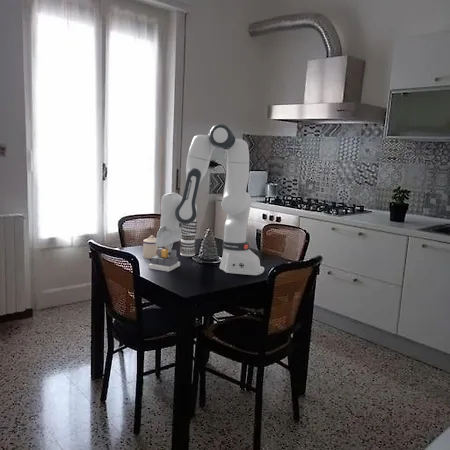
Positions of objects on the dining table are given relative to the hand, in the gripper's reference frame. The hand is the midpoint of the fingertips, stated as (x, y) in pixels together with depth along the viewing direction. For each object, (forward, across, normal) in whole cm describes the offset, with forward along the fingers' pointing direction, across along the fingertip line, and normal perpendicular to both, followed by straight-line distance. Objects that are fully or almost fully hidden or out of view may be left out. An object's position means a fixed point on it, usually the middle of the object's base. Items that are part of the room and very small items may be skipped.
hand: (168, 252), depth 221 cm
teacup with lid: (+7, +11, +16) cm, 20 cm away
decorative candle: (+7, +25, +1) cm, 26 cm away
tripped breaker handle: (+1, -4, 0) cm, 4 cm away
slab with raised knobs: (+7, -4, 0) cm, 8 cm away
